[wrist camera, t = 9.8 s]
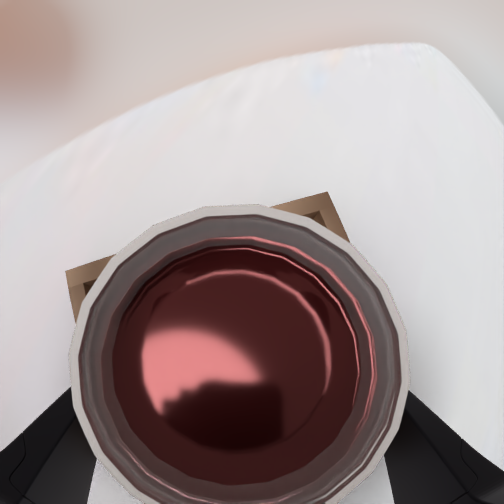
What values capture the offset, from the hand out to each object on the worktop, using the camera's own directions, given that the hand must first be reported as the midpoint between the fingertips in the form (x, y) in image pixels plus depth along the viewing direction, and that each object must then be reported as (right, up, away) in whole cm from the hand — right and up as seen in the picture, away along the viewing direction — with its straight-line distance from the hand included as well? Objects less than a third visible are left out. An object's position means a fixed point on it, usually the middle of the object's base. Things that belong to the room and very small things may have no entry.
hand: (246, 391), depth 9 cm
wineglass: (-1, -2, +8) cm, 8 cm away
